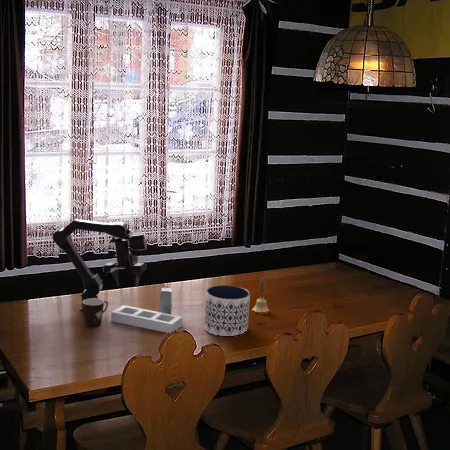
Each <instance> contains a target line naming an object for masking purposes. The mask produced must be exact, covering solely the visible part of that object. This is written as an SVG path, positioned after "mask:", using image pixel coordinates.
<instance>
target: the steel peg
mask: <svg viewBox="0 0 450 450" xmlns="http://www.w3.org/2000/svg"><path fill="white" fill-rule="evenodd" d="M172 307H173V287H172V288H170V287H161V290H160V301H159V312H161V313H166V314H171V315H172V310H173V309H172Z"/></svg>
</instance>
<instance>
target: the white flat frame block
mask: <svg viewBox="0 0 450 450" xmlns="http://www.w3.org/2000/svg"><path fill="white" fill-rule="evenodd" d="M110 313H111V315H110V317H111V318H110V319H111V320H110V321H111V322H114V323H118V324H122V325H129V326H134V327H136V328H137V327H139V328H144V329H148V330H153V331H157V332H163V333H167V334H171V333H170V332H172V331H175V330H176V331H177V330H179V329H180V328H181V327H182V326H183V316H182V315H180V316H179V315H175V314H172V313H171V314H166V313H161V312H160V311H154V310H150V309H145V308H141V307H140V308H139V307H135V306H131V305H130V306H129V305H126V304H125V305H124V304H122V305H121V306H119V307H117V308H116V309H114V310H113V311H111V312H110ZM168 332H169V333H168Z"/></svg>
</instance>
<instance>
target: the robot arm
mask: <svg viewBox="0 0 450 450" xmlns="http://www.w3.org/2000/svg"><path fill="white" fill-rule="evenodd" d="M76 230H80V231H89V232H95V233H96V232H97V233H104V234H106V235H108V236H111V237H112V238H111V239H110V241H109V243H110V244H114V248H115V255H114V258H115V259H116V262H114V261H111V262H107V263H106V264H104V265H103V266H102V271H103V272H104V273H105V274H106V275H108V276H109V277H110V278H111V280H112V281H113V283H114V284H115V286H116V287H119V286H120V281H119V270H128V271H129V270H130V271H131V270H132V278H133V283H134V286H135V288H138V285H139V282H140V278H141V275H142V273H144V272H145V271H146V270H148V267H147V266H148V265H147V264H146V262H138V259H139V258H138V257H139V256H138V255H133V253H132V251H133V252H135V251H143V250H144V251H145V250H147V246H148V245H147V239H146V236H145V234H144V233H140V234H133V233H132V231H130V230H129V228H128V226H127V224H126V222H124V221H111V222H102V221H95V220H86V219H80V218H75V219H73V220H72V221H71V222H70V223H68V225H65V227H60V228H58V229H57V230H56V231H55V232H54V233H53V234H52V238H51V239H52V240H53V241H52V242H54V244H55V245H56V246H57V247H58V248H59V249H61V250H62V251H63V252H65V254H66V255H67V257H68V258H69V260H70V262H71V263H72V265H73V266H74V268H75V269H76V271H77V272H78V274H79V275H80V277H81V279H82V282H83V287H84V290H83V292H82V293H81V294H80V297H81V307H80V308H79V310H80V311H81V312H83V313H84V309H83V301H84V300H85V299H90V298H97V299H99V298H98V297H99V296H98V295H99V293H100V292H101V291H102V289H103V280H102V279H101V278H100V275H99V274H98V273H96V274H94V273H92V272H91V270H90V269H89V267H88V266H87V264H86V262H85V261H84V259H83V258H82V256H81V254H80V253H79V251H78V250H77V248H76V247H75V244H74V242H73V238H72V236H71V234H73V233H74V232H75V231H76ZM130 250H132V251H130Z"/></svg>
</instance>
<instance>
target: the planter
mask: <svg viewBox="0 0 450 450" xmlns="http://www.w3.org/2000/svg"><path fill="white" fill-rule="evenodd" d="M250 298H251V292H250V291H249V290H248V289H246V288H244V287H240V286H237V285H235V286H234V285H227V284H225V285H224V284H223V285H222V284H221V285H213V286H211V287H208V288H207V289H206V292H205V302H204V303H205V307H204V323H203V328H204V330H205V331H206V332H207V333H208V334H211V335H213V334H214V336H217V335H220V336H219V337H222V336H234V335H238V334H242V333H244V332H245V331H247V332H248V330H247V329H249V316H250V303H251V301H250V300H251V299H250ZM244 334H245V333H244ZM242 335H243V334H242Z"/></svg>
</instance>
